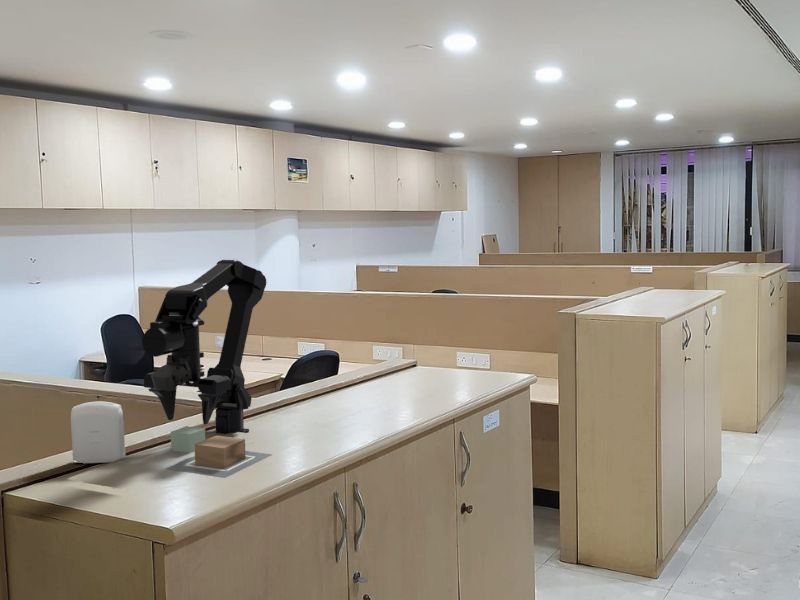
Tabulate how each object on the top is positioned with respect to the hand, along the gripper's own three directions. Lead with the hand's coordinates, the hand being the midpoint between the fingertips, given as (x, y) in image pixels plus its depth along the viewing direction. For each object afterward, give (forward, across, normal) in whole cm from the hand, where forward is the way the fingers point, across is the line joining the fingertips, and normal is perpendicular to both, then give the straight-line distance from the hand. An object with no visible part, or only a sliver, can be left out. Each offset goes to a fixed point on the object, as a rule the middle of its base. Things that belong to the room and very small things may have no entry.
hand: (188, 422), depth 164 cm
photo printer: (+7, -13, -12) cm, 19 cm away
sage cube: (+7, 0, 0) cm, 7 cm away
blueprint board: (+7, +12, -5) cm, 15 cm away
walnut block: (+6, +12, -5) cm, 14 cm away
